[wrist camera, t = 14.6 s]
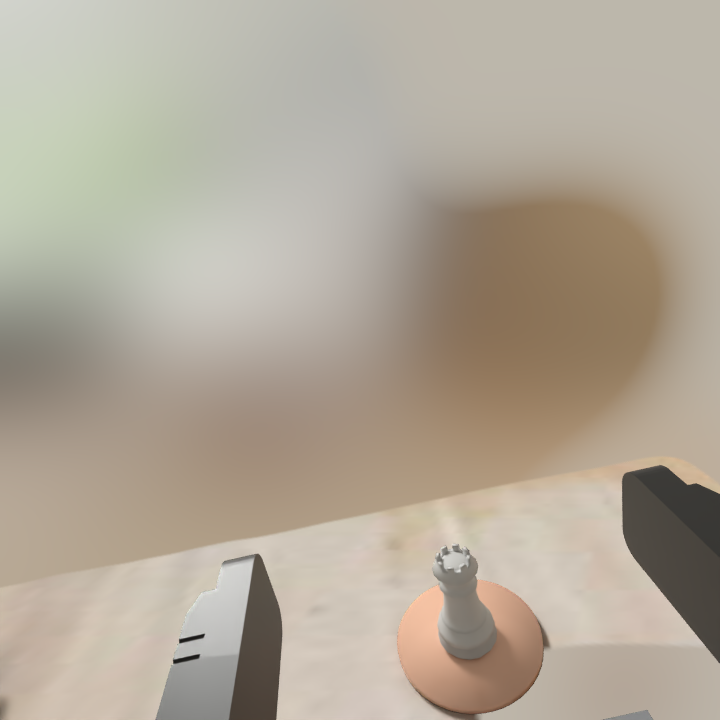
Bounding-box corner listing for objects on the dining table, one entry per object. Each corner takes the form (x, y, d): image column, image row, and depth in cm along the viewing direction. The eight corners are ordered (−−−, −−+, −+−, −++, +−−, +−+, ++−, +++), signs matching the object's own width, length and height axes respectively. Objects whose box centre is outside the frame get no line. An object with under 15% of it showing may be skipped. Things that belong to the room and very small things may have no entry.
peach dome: (489, 750, 32) (488, 744, 31) (370, 653, 40) (368, 647, 40) (570, 627, 38) (570, 621, 38) (454, 565, 46) (453, 560, 46)
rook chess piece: (430, 652, 38) (412, 572, 35) (450, 606, 41) (435, 529, 39) (488, 672, 36) (473, 588, 33) (504, 621, 39) (492, 540, 36)
